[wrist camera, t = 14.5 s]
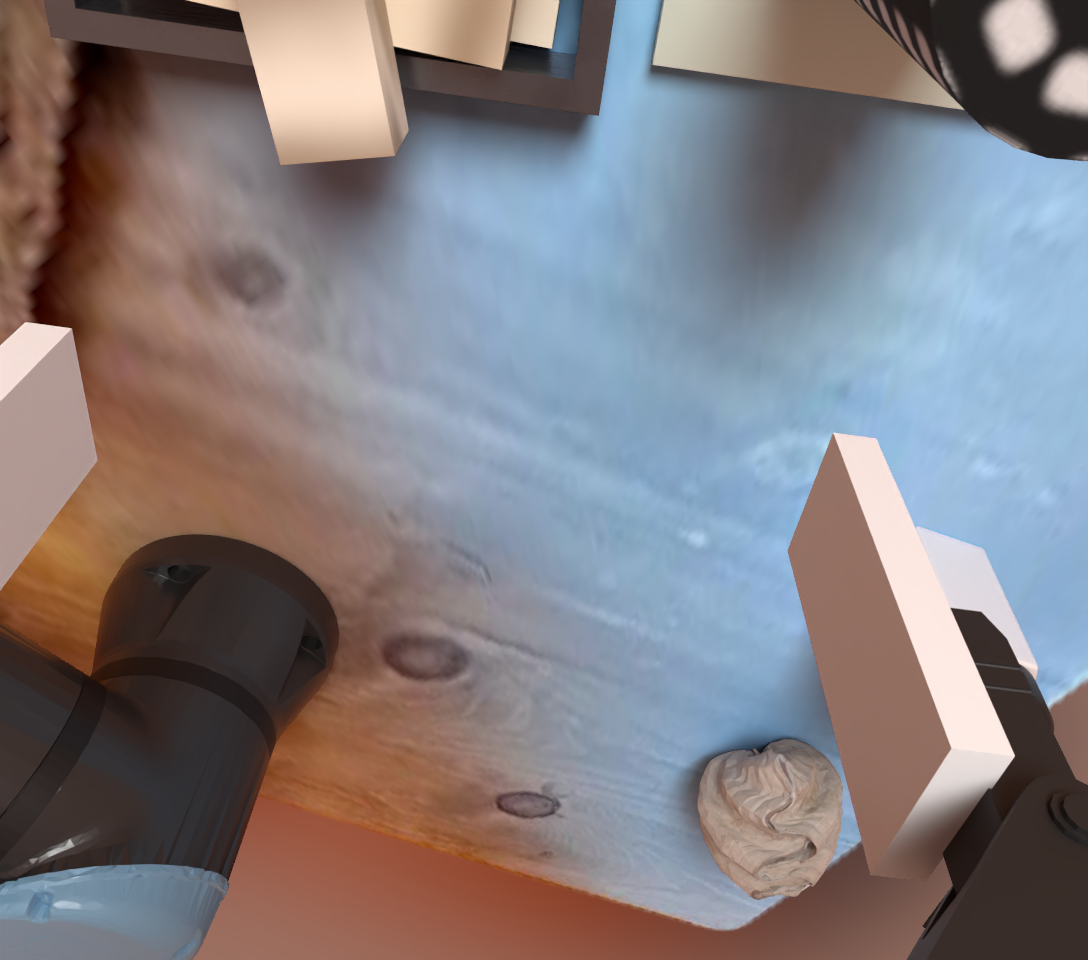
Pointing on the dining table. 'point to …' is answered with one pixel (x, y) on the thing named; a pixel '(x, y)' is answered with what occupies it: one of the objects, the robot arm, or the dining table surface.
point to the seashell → (771, 816)
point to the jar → (979, 595)
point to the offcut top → (326, 77)
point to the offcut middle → (445, 27)
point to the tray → (526, 77)
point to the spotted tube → (1003, 64)
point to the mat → (793, 47)
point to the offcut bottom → (535, 22)
